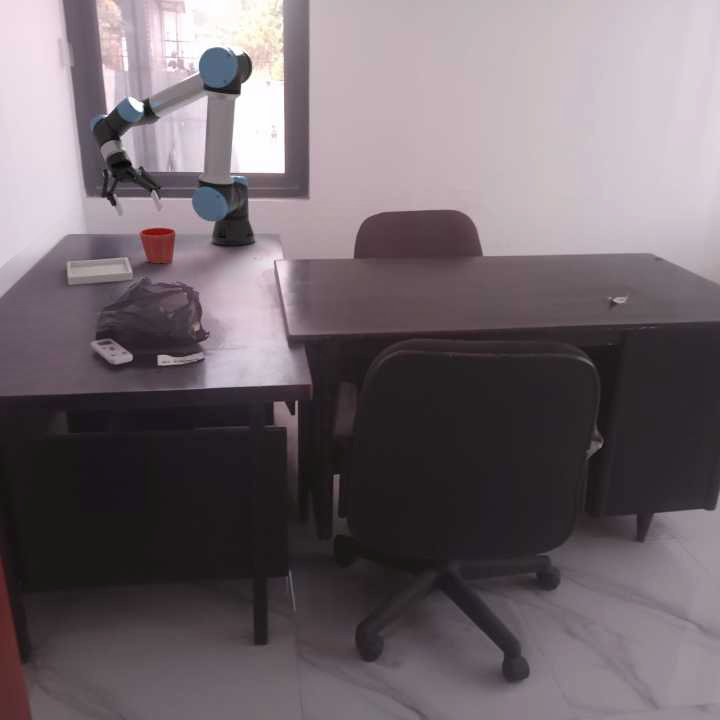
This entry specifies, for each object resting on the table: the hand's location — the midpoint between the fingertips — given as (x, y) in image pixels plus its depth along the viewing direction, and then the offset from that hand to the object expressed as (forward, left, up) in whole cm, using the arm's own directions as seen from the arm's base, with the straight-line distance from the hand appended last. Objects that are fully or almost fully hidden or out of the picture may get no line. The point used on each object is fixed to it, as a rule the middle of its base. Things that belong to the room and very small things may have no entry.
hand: (141, 210), depth 242 cm
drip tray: (+15, +20, -14) cm, 29 cm away
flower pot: (-4, +10, -15) cm, 18 cm away
